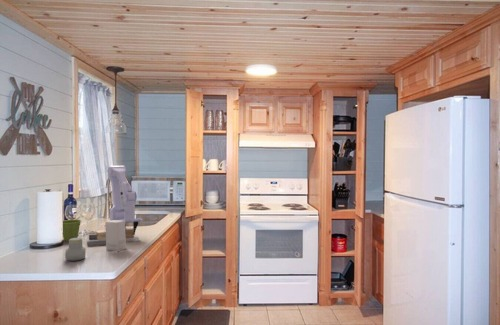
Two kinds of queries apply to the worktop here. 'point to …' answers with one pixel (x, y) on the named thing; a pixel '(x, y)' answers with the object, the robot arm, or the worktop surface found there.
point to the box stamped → (129, 233)
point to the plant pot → (70, 229)
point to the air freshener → (75, 250)
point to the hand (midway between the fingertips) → (129, 234)
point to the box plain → (100, 235)
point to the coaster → (132, 239)
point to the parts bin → (95, 241)
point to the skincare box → (115, 235)
